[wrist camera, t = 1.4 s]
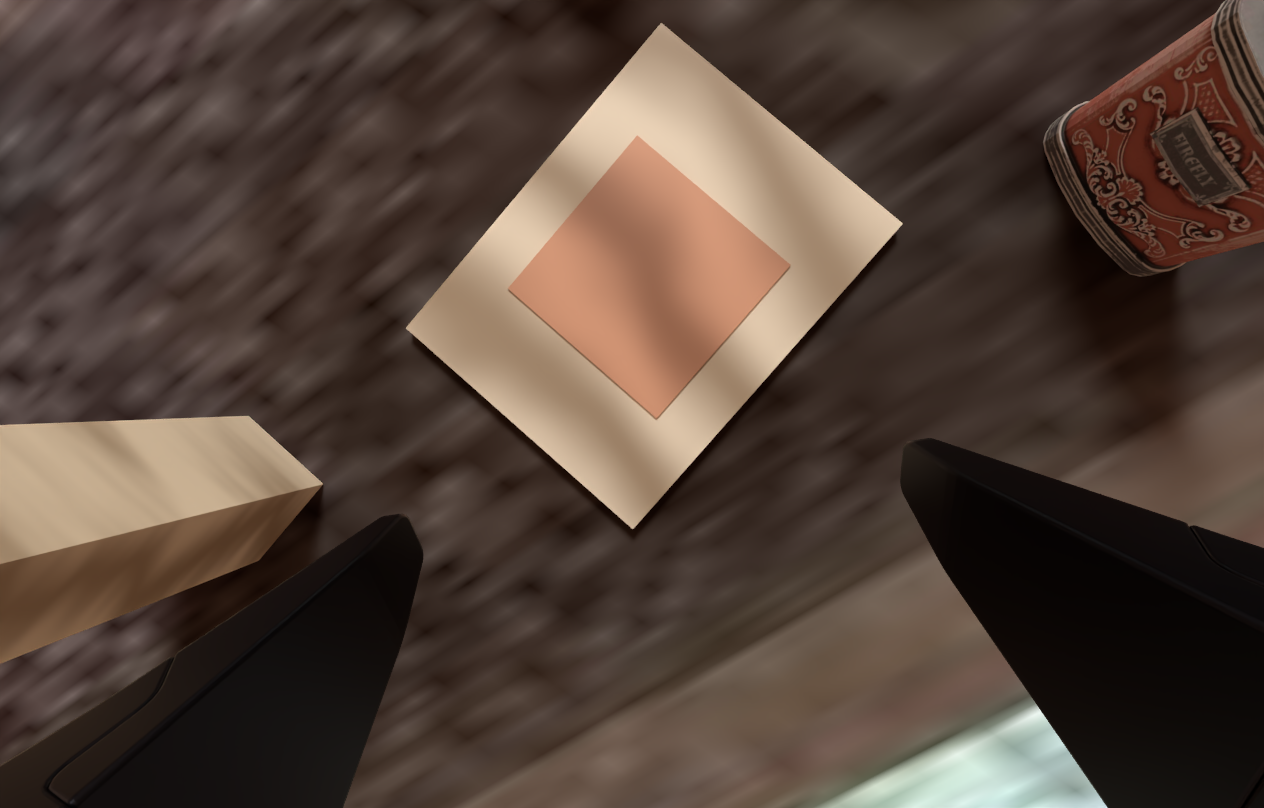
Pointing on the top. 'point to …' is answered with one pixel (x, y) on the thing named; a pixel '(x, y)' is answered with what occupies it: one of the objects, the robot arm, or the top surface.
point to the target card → (651, 275)
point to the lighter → (1173, 149)
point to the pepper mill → (131, 516)
